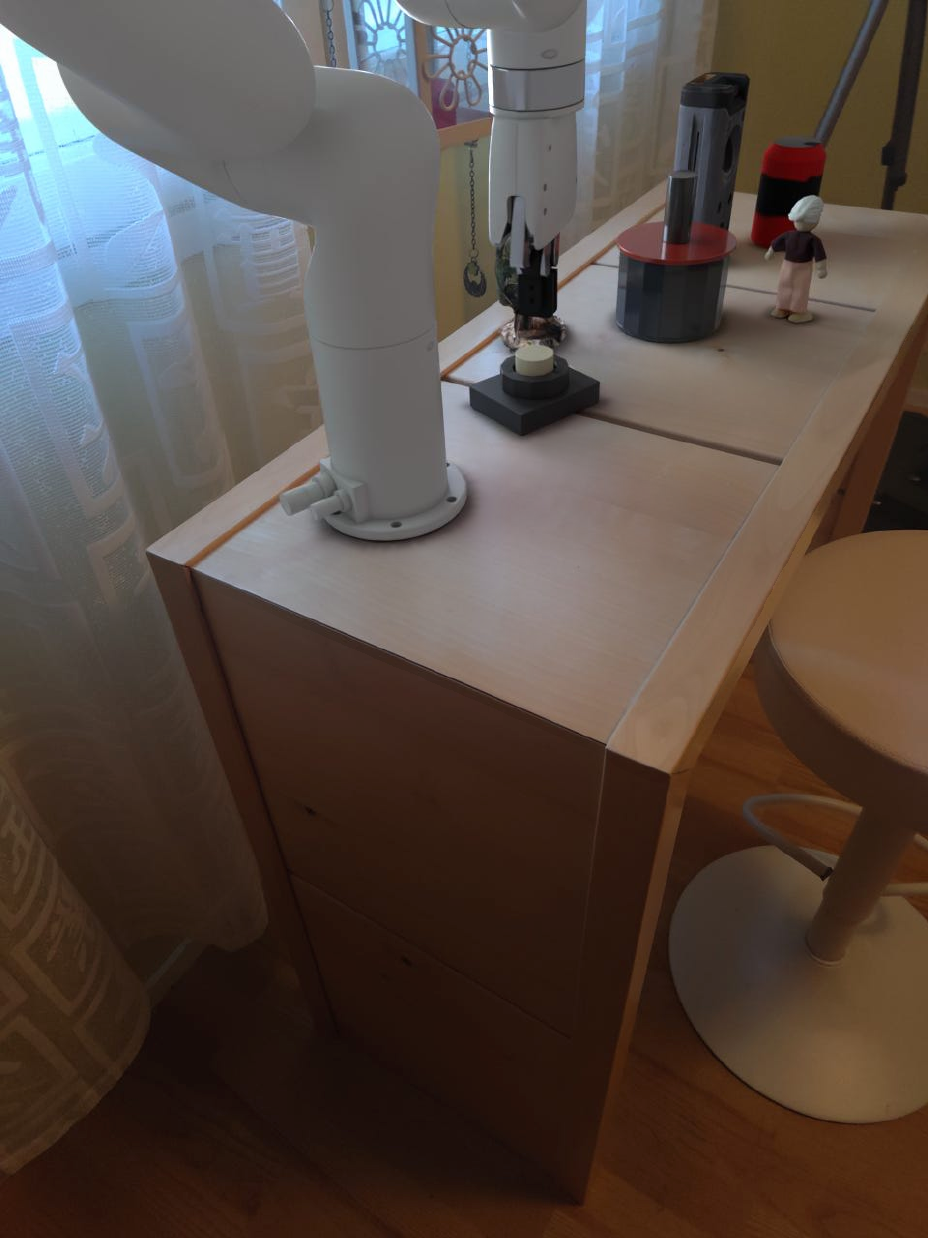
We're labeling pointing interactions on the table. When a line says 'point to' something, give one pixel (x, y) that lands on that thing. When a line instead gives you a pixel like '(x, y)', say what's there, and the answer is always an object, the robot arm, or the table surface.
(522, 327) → the plant with pod
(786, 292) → the grandmother figurine
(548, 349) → the button
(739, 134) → the electronic device
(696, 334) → the pot
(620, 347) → the table surface
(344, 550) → the table surface
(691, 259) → the lid
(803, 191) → the soda can
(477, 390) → the control block
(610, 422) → the table surface
